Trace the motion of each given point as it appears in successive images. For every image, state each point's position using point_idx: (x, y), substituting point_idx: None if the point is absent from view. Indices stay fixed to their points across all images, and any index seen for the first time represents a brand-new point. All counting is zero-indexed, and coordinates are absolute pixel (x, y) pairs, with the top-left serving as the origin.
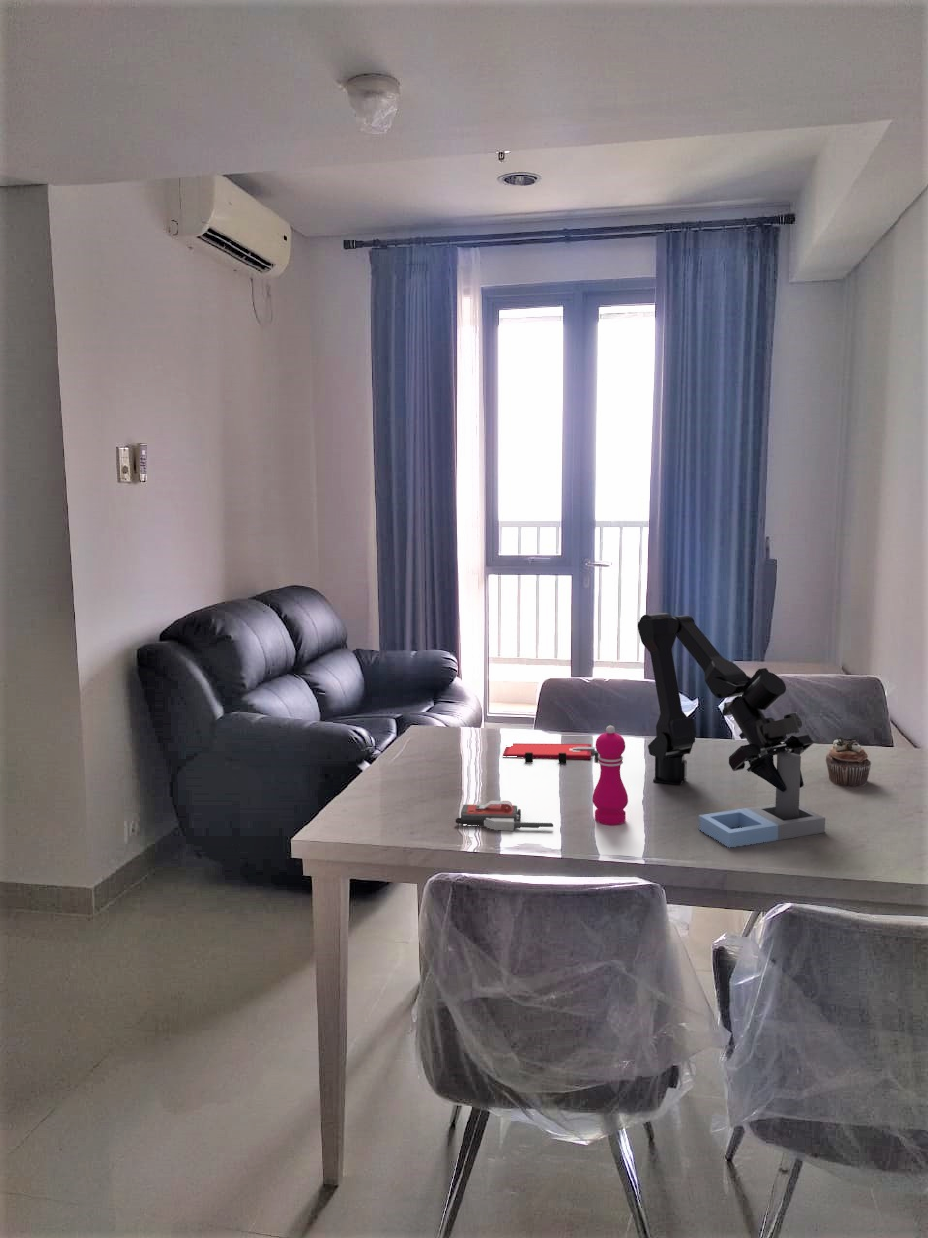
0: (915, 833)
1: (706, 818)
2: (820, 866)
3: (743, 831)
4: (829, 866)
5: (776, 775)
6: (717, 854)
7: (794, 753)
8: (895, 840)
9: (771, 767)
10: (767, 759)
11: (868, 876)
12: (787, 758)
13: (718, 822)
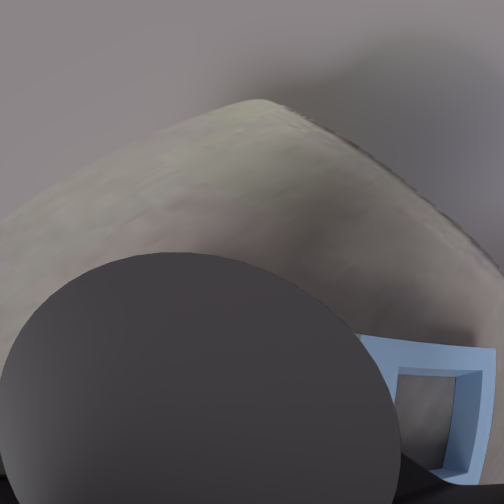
0: (43, 194)
1: (480, 462)
2: (359, 191)
3: (465, 347)
4: (342, 182)
5: None
6: (496, 340)
7: (1, 450)
8: (98, 189)
9: (412, 474)
10: (501, 488)
11: (309, 132)
12: (358, 358)
13: (479, 426)
